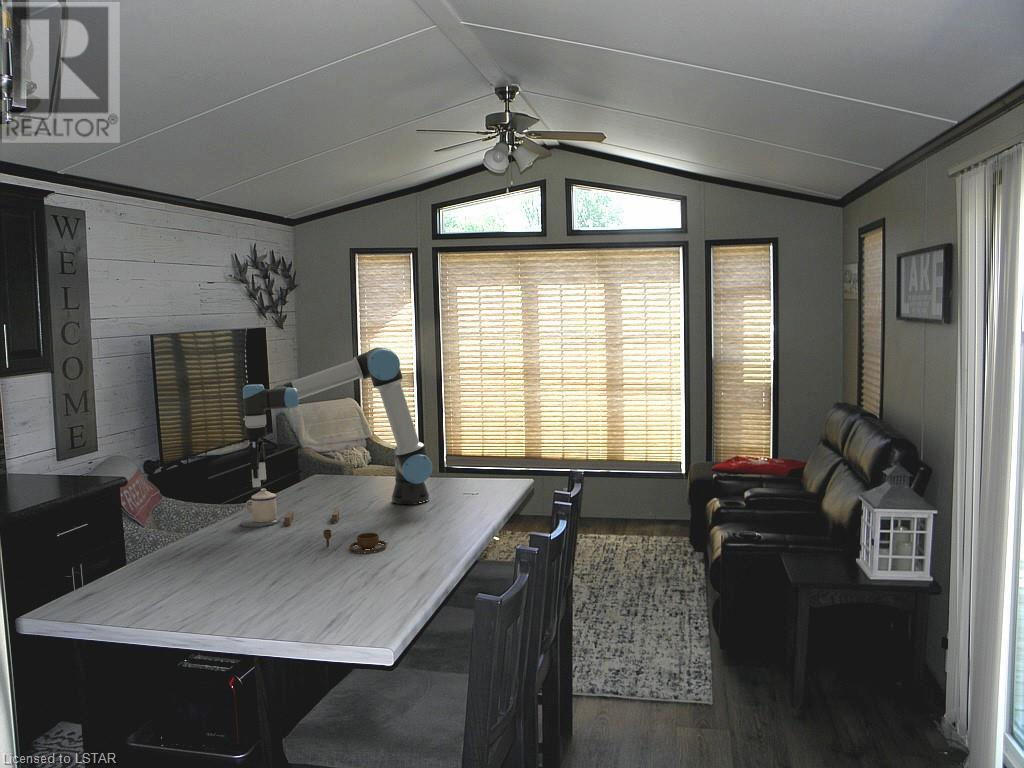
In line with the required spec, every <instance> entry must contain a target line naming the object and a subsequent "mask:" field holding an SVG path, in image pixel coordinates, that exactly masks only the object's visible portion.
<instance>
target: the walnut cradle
mask: <svg viewBox="0 0 1024 768" xmlns="http://www.w3.org/2000/svg"><path fill="white" fill-rule="evenodd" d="M332 510H333V511H332V512H331V523H332V522H339V520H340V519H339V518H340V509H339V508H338V507H337V508H333V509H332ZM292 520H293V521H294V511H293V510H292V511H291V510H288V511H287V512H286V514H285V516H284V526H285V525H289V526H291V524H292V523H291V522H293V521H292Z"/></svg>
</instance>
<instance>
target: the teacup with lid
mask: <svg viewBox="0 0 1024 768" xmlns="http://www.w3.org/2000/svg"><path fill="white" fill-rule="evenodd" d="M249 503H251V509H250V506H249ZM245 509H246V511H247V512H248V513H250V514H252V516H251V517H253V521H254V522H270V521H273V520H276V518H277V515H278V513H277V495H276V493H272V492H270V491H267V489H266V488H261V489H260V491H258V492H257V493H255V494H253V495H251V497H250V499H249V500H247V501H246V503H245Z"/></svg>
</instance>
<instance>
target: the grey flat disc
mask: <svg viewBox="0 0 1024 768" xmlns="http://www.w3.org/2000/svg"><path fill="white" fill-rule="evenodd" d="M278 522H279V523H280V522H281V517H280V516H277V518H276V520H273V521H270V522H254V521H253V516H251V517H247V518H244V519H242V520H240V526H241V527H244V526H247V527H246V528H252V527H254V528H261V527H260V526H266V527H268V526H267V525H271V526H274V525H273V524H275V525H277V524H279V523H278ZM276 523H277V524H276Z"/></svg>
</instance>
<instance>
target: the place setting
mask: <svg viewBox="0 0 1024 768" xmlns="http://www.w3.org/2000/svg"><path fill="white" fill-rule="evenodd" d="M379 536H380V535H379V534H378V533H377V532H364V533H360V534H358V535H357V536H356V542H353V543H350V545H349V549H350V551H351V552H352V551H354V552H353V553H355V552H360V553H359V554H365V553H364V552H374V551H378V552H380V551H379V550H382V549H384V548H385V547H386V548H387V545H388V544H387V543H386V542H387V541H386V542H384V541H385V540H384V541H381V540H382V539H379V538H380V537H379ZM331 537H332V530H331V529H324V530H323V538H324V539H326V546H327V547H328V546H329V547H330V539H331ZM378 543H381V544H384V546H380V547H377V546H378V545H379V544H378ZM355 545H358V546H357V547H360V548H361V549H357V548H352V547H353V546H355ZM327 547H326V548H327ZM329 547H328V548H329ZM375 547H377V548H375ZM372 548H374V549H372ZM386 548H385V549H386ZM363 549H370V550H363ZM385 549H384V550H385ZM338 550H339V549H338ZM338 550H337V549H336V552H338ZM382 551H383V550H382ZM361 552H362V553H361ZM374 553H375V552H374Z"/></svg>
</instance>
